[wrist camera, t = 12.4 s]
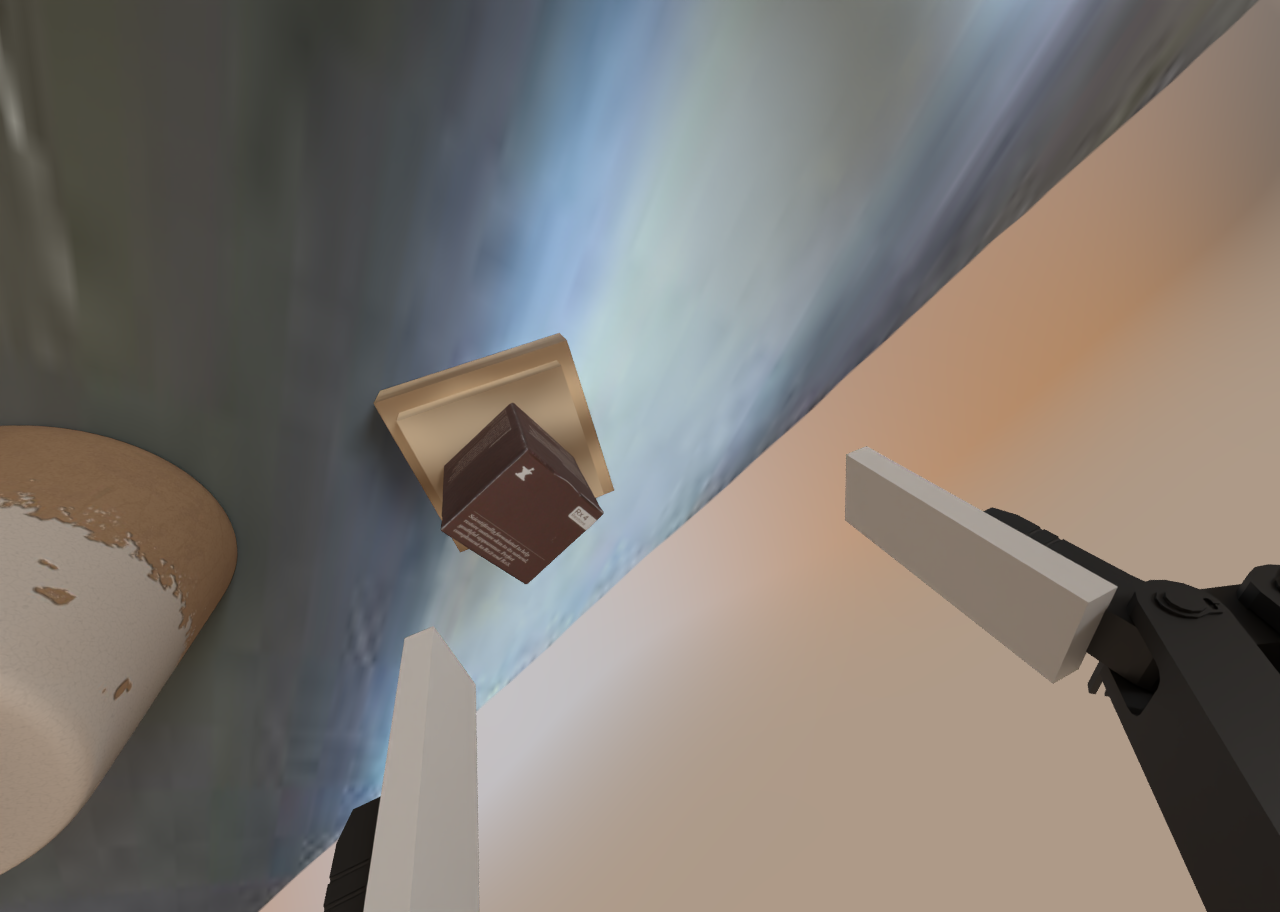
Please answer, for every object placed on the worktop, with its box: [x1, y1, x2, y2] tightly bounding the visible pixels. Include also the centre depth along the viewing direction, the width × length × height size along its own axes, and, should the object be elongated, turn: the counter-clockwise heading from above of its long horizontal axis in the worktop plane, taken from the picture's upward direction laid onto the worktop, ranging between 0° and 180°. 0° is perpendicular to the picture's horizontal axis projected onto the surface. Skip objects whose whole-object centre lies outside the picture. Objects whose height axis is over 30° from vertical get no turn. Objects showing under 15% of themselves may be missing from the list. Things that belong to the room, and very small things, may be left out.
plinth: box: [374, 333, 614, 552], centre depth 31 cm, size 12×12×4 cm
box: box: [441, 403, 603, 584], centre depth 26 cm, size 6×6×7 cm
